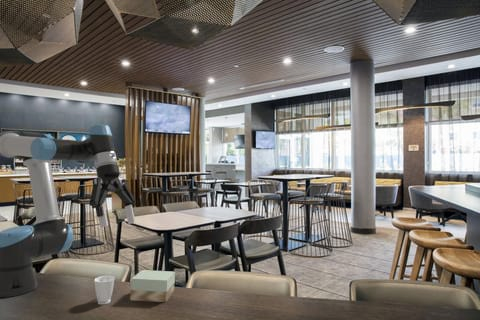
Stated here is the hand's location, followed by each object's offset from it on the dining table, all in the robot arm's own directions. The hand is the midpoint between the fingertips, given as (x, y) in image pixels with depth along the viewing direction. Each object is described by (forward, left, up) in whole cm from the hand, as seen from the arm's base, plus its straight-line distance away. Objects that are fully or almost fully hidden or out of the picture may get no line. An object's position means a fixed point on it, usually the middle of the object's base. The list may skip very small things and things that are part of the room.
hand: (118, 224), depth 112 cm
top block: (+9, +10, -24) cm, 27 cm away
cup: (-6, +4, -28) cm, 29 cm away
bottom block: (+9, +10, -28) cm, 31 cm away
